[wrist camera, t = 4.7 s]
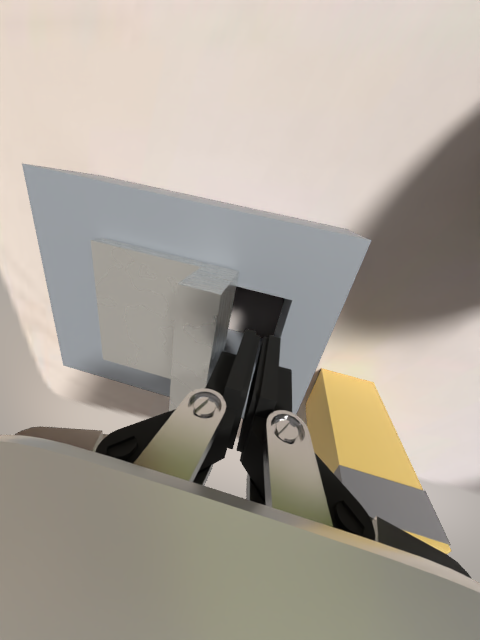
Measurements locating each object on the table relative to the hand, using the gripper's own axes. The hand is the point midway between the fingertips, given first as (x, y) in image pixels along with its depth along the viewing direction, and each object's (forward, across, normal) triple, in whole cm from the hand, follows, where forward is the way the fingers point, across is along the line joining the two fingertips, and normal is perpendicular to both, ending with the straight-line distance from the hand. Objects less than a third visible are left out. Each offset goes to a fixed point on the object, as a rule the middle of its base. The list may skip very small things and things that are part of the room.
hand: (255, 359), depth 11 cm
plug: (+7, -7, +6) cm, 12 cm away
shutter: (+2, +5, 0) cm, 5 cm away
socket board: (+7, +5, 0) cm, 8 cm away
